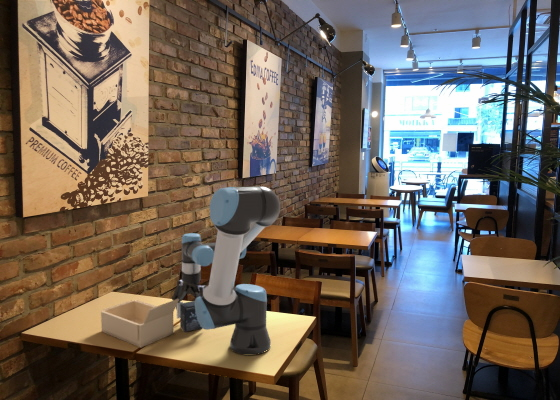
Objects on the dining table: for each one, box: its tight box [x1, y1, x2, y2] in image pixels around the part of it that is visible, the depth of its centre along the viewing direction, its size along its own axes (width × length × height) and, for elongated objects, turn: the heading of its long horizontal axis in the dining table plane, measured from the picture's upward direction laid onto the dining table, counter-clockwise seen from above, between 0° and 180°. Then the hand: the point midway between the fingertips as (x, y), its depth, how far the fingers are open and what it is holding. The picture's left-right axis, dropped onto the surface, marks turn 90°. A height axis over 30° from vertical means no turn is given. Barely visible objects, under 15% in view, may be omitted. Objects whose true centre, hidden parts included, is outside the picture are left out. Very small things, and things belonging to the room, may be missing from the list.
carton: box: [100, 299, 175, 348], centre depth 177 cm, size 25×17×9 cm
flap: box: [144, 299, 179, 324], centre depth 168 cm, size 1×14×7 cm, turn 147°
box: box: [179, 300, 203, 333], centre depth 182 cm, size 8×6×11 cm
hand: (191, 321), depth 183 cm, fingers open, 13 cm apart
